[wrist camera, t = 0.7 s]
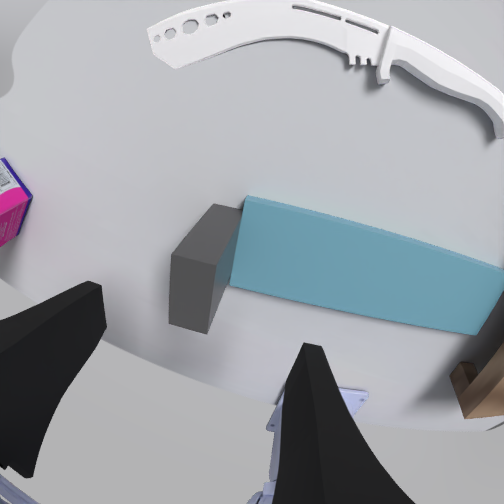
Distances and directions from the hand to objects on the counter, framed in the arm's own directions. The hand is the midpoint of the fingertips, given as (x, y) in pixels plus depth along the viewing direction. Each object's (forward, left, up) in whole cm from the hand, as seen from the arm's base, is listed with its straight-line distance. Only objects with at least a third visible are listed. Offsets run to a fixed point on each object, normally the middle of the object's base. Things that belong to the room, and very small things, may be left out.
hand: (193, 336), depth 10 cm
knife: (+11, -1, -11) cm, 15 cm away
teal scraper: (-1, -9, -10) cm, 14 cm away
